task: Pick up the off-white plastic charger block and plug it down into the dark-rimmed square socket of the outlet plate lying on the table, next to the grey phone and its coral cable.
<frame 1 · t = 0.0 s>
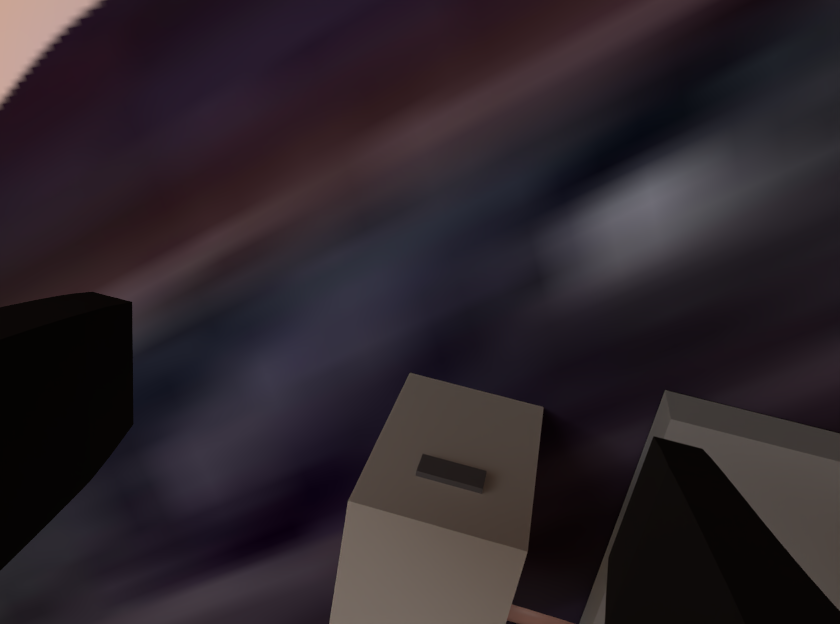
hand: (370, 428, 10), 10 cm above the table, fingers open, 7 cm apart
charger block: (463, 445, 22), on the table
cable plug: (418, 568, 25), on the table, touching outlet plate
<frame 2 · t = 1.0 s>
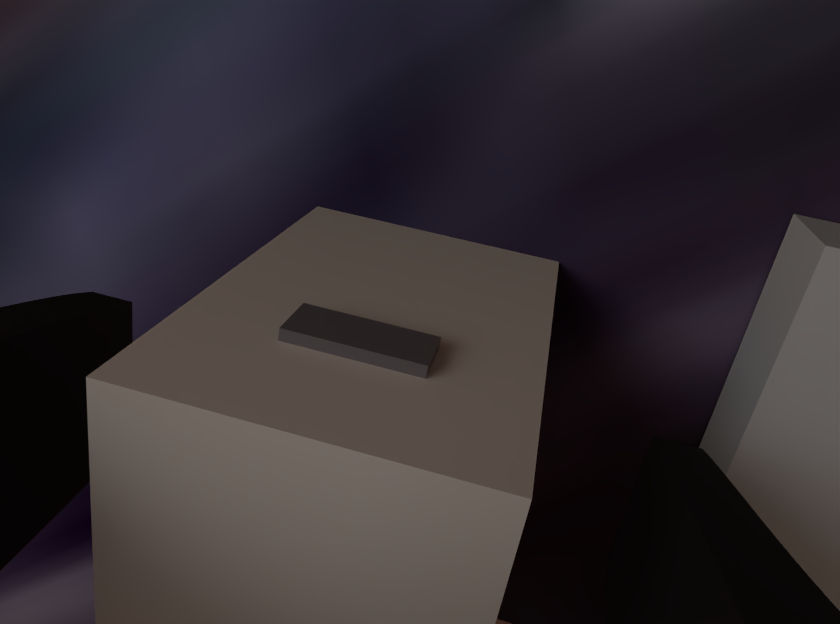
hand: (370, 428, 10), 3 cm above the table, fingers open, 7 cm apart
charger block: (415, 342, 12), on the table
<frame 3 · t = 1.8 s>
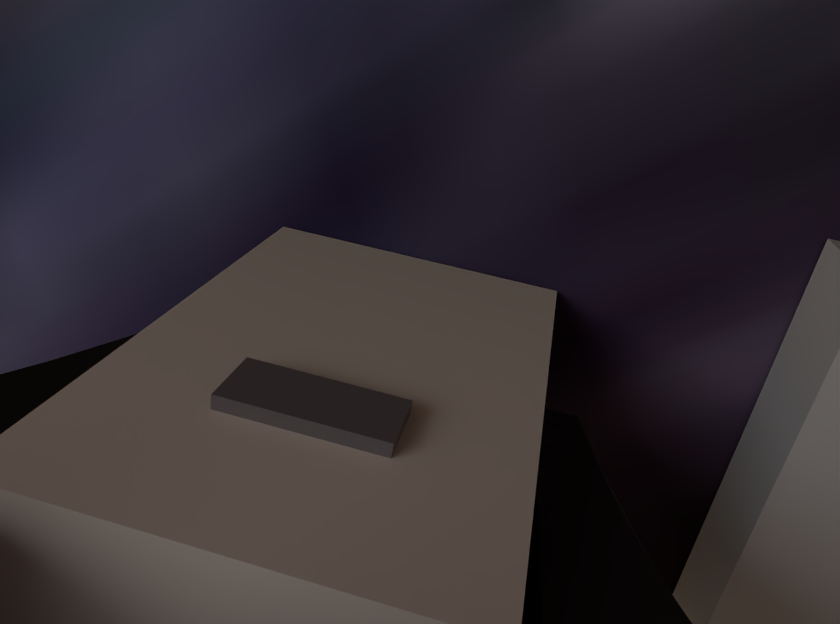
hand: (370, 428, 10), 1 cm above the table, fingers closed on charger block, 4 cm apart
charger block: (395, 378, 11), on the table, touching gripper
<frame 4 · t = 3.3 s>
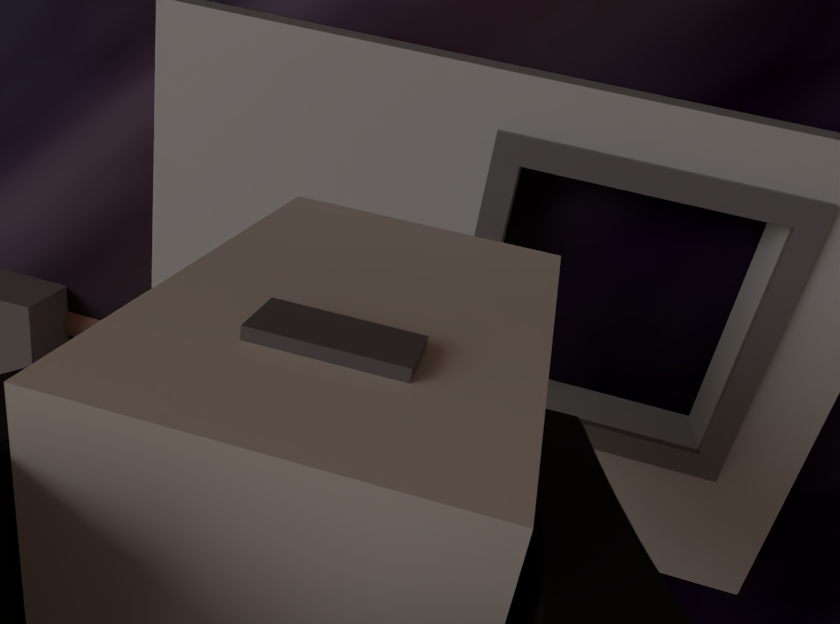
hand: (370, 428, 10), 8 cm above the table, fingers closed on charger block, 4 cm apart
outlet plate: (480, 297, 18), on the table
charger block: (405, 344, 11), point 6 cm above the table, touching gripper
cable plug: (24, 297, 22), on the table, touching outlet plate
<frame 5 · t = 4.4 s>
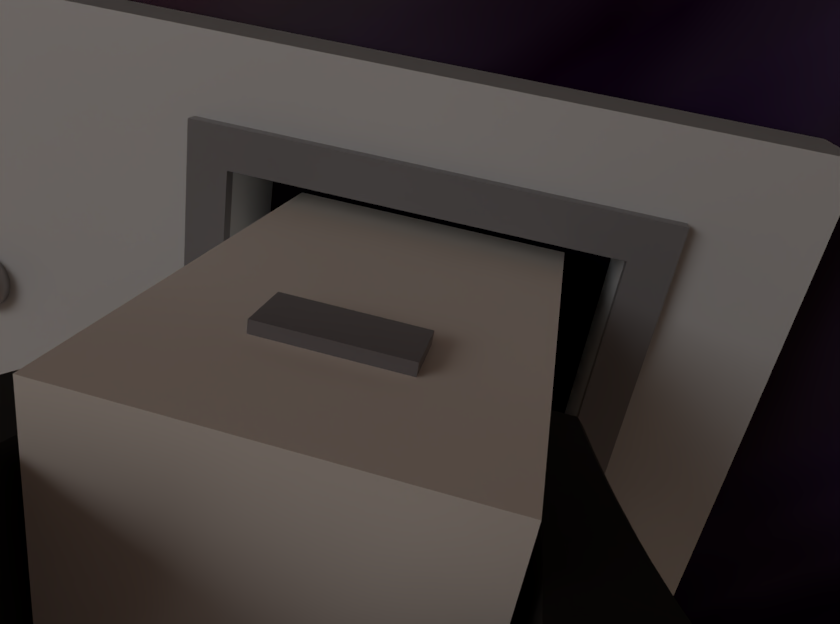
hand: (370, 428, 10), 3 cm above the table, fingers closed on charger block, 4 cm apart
outlet plate: (246, 349, 13), on the table
charger block: (408, 341, 11), point 1 cm above the table, touching gripper
when the fingers open (2 cm above the table, at t = 4.9 s): charger block stays where it is, resting in outlet plate.
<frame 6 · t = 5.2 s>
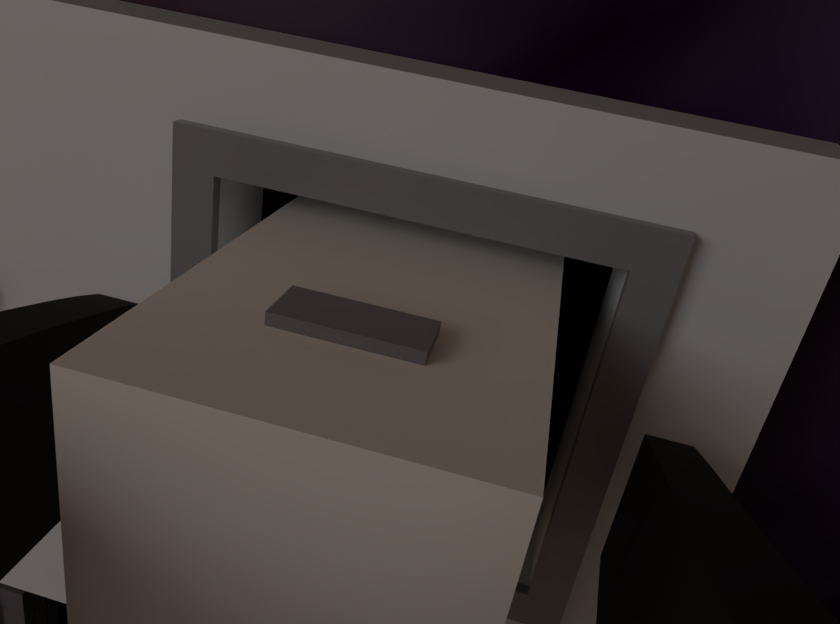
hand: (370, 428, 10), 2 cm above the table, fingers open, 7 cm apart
outlet plate: (237, 358, 13), on the table
charger block: (414, 331, 12), resting in outlet plate
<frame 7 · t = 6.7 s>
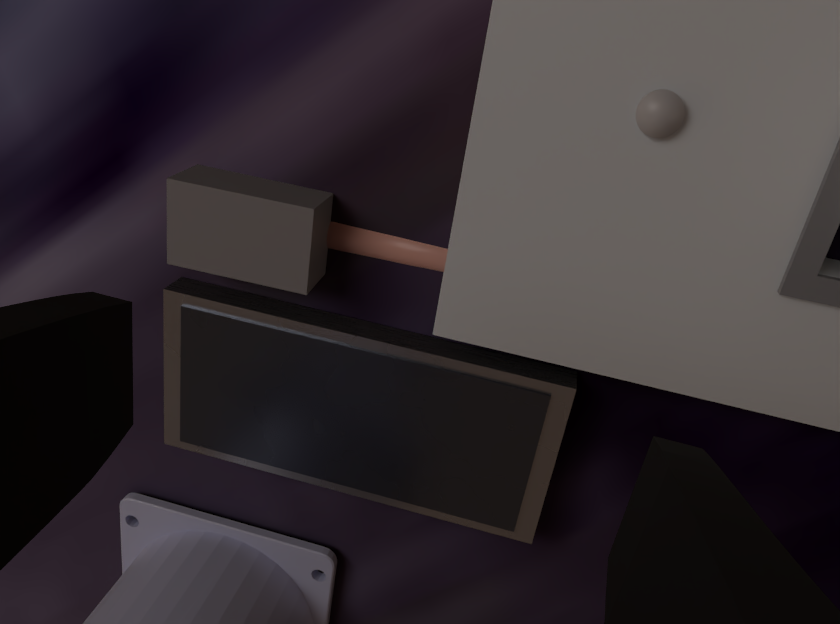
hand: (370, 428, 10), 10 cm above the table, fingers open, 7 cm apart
phone: (360, 401, 22), on the table
outlet plate: (814, 179, 17), on the table
cable plug: (272, 212, 21), on the table, touching outlet plate
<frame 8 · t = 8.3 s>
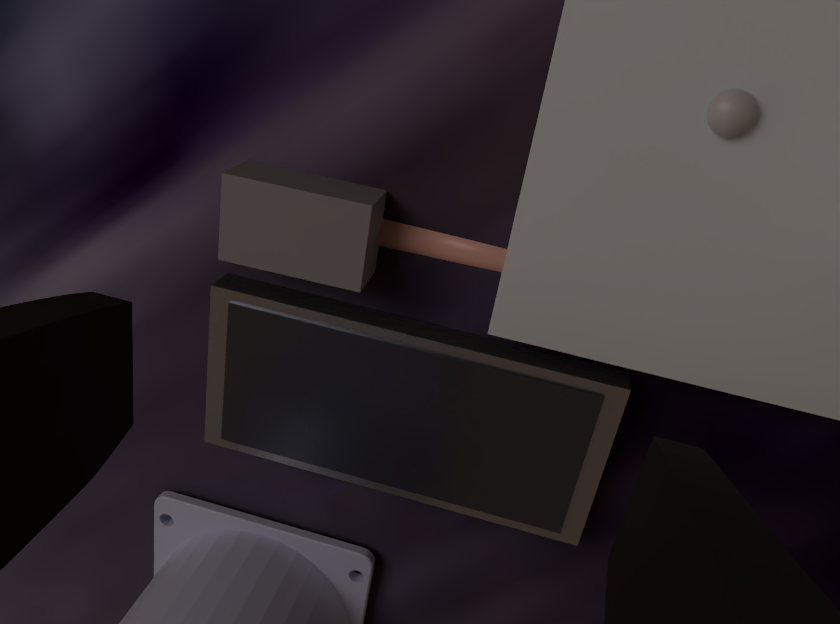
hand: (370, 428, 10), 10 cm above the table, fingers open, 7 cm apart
phone: (405, 401, 22), on the table
cable plug: (321, 209, 21), on the table, touching outlet plate
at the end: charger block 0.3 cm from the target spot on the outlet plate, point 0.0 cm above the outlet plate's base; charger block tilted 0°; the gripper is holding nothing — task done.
